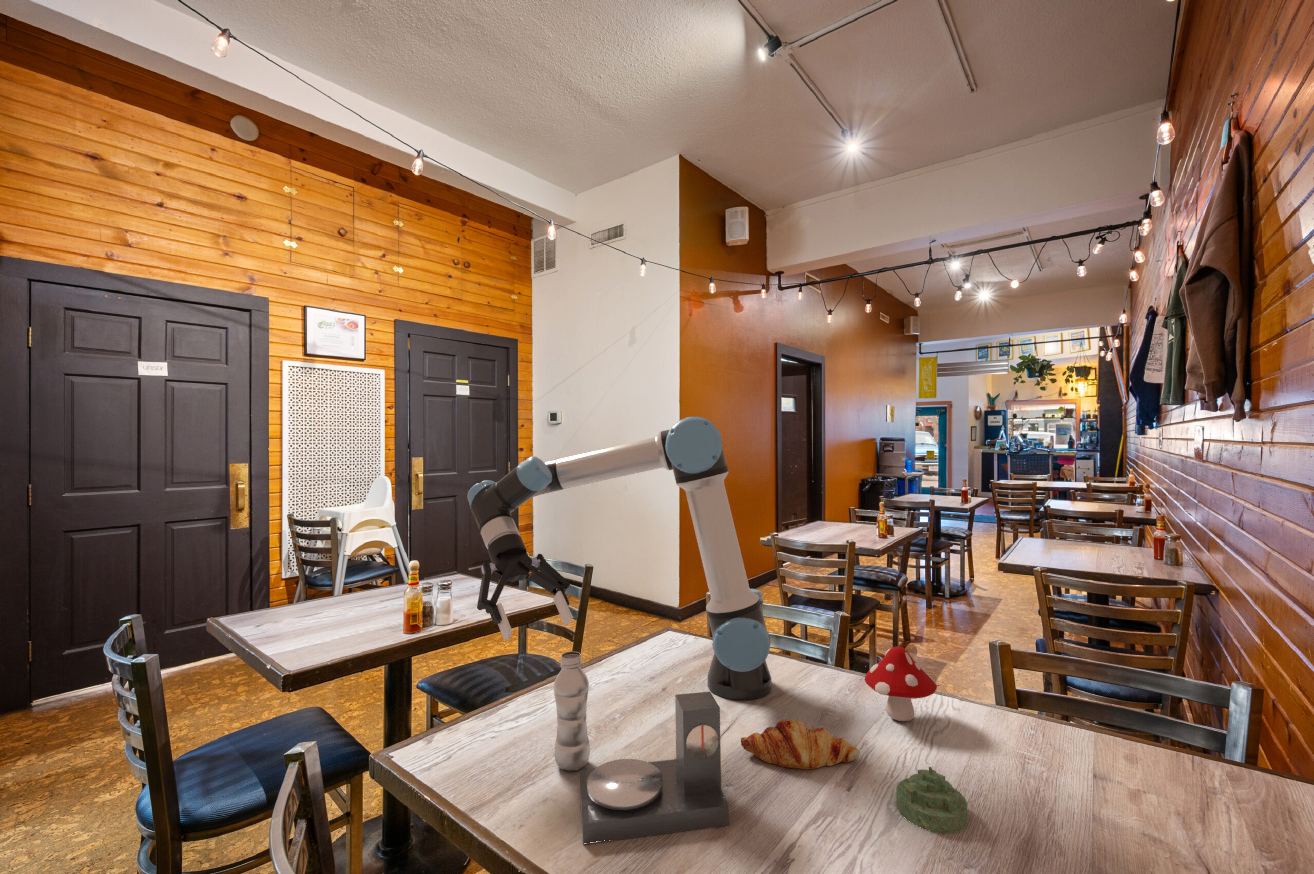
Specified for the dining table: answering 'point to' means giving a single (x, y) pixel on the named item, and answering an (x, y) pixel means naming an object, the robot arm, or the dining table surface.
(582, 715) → the plastic bottle
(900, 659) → the decorative mushroom
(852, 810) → the dining table surface
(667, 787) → the scale
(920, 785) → the decorative artifact
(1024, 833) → the dining table surface
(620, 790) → the scale pan
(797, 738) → the croissant
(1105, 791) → the dining table surface
